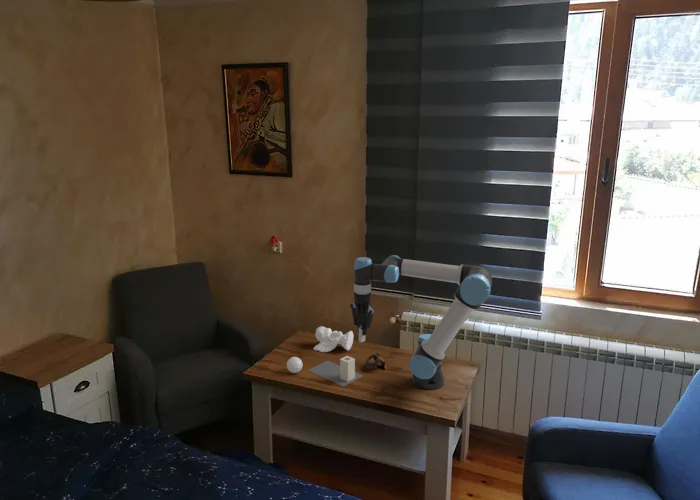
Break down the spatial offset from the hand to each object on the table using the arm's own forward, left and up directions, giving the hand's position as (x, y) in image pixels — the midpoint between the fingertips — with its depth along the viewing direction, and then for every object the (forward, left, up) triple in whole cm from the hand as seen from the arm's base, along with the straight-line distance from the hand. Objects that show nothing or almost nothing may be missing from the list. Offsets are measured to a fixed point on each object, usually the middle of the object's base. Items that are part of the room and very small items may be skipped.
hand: (362, 340), depth 247 cm
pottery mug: (+6, -18, -23) cm, 30 cm away
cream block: (+9, 0, -22) cm, 24 cm away
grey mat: (+17, 0, -22) cm, 28 cm away
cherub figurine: (+38, -20, -23) cm, 48 cm away
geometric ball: (+33, +12, -23) cm, 42 cm away
